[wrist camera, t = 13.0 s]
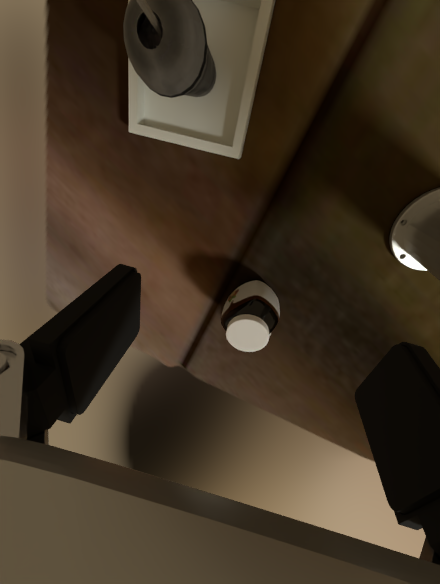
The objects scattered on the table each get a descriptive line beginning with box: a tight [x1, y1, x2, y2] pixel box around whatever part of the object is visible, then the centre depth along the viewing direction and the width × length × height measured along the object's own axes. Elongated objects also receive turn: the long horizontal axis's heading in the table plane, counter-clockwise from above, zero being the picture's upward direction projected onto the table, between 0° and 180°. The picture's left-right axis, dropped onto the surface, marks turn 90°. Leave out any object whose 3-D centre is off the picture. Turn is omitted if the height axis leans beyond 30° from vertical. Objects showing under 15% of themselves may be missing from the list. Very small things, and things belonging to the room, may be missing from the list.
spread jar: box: [221, 280, 280, 352], centre depth 45 cm, size 12×11×12 cm
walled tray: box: [128, 0, 276, 159], centre depth 31 cm, size 16×16×3 cm
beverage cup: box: [123, 0, 216, 98], centre depth 23 cm, size 7×7×20 cm
